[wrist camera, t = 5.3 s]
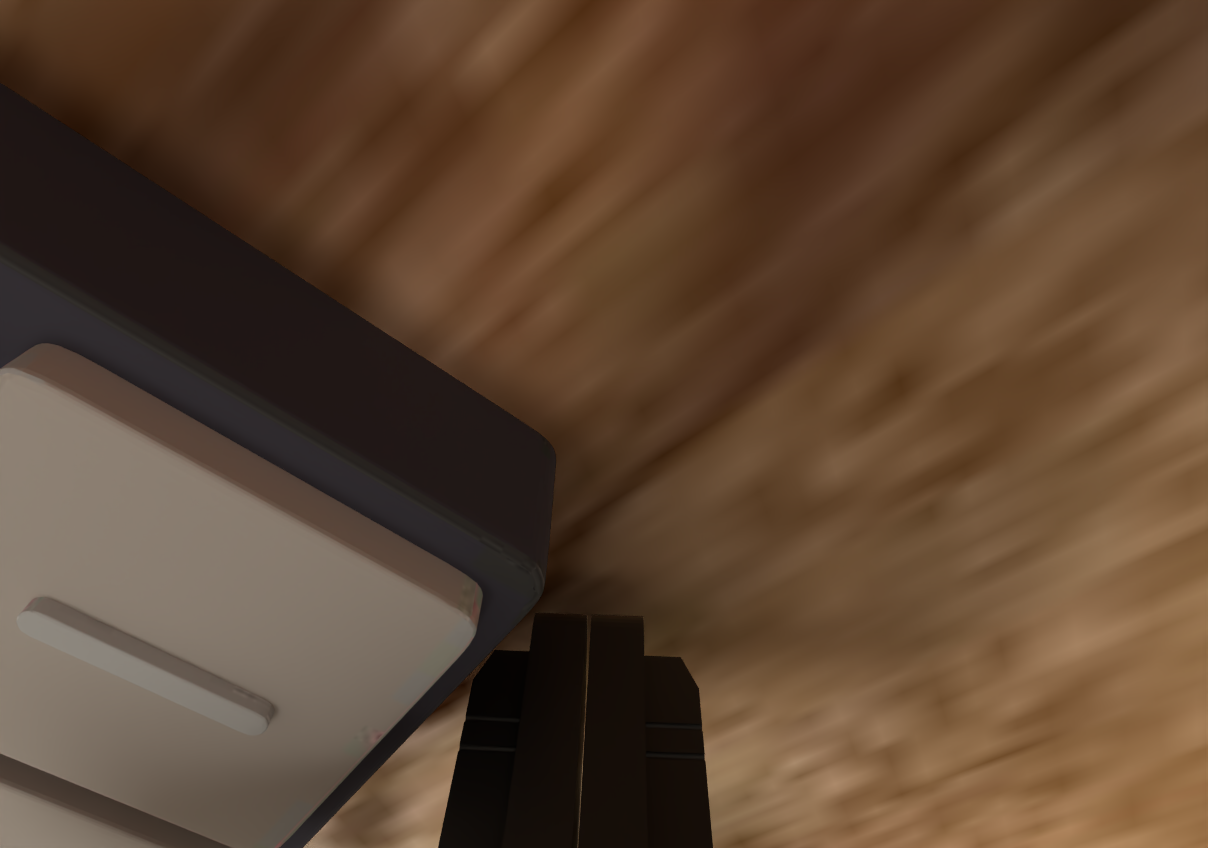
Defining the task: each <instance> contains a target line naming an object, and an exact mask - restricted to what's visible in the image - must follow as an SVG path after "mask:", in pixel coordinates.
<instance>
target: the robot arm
mask: <svg viewBox="0 0 1208 848" xmlns="http://www.w3.org/2000/svg"><path fill="white" fill-rule="evenodd" d="M586 659H587V615H586V614H560V613H535V617H534V622H533V629H532V637H531V644H530V651H529V652H528V651H503V650H495V651H494V652H493V653H492V655H491V656H490V657H489V659H488V660H487V661H486V663H485V664H484V666H483V667H482V668H481V670H480V671H479V672H478V674H477V675H476V677H475V678H474V679H473V683H472V688H471V693H470V697H469V702H468V707H467V712H466V720H465V722H464V726H463V731H462V736H461V741H460V749H459V751H458V755H457V760H456V764H455V769H454V774H453V779H452V784H451V788H450V793H449V798H448V803H447V808H446V812H445V817H444V822H443V827H442V832H441V836H440V841H439V846H438V848H577V846H578V848H713V843H712V831H711V820H710V809H709V798H708V787H707V775H706V764H705V760H704V754H705V753H704V742H703V731H702V719H701V708H700V697H699V688H698V686H697V685H696V683H695V681H694V679H693V678H692V676H691V674H690V673H689V671H688V669H687V667H686V666H685V664H684V662H683V660H682V659H681V657H661V656H644V622H643V616H618V615H592V616H591V632H590V650H589V668H588V685H587V703H586V721H585V700H586ZM584 724H585V738H584ZM583 742H584V756H583ZM582 760H583V774H582ZM581 777H582V791H581ZM580 794H581V809H580ZM579 812H580V827H579ZM578 829H579V844H578Z"/></svg>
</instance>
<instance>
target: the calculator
mask: <svg viewBox="0 0 1208 848" xmlns="http://www.w3.org/2000/svg"><path fill="white" fill-rule="evenodd" d="M555 468H556V455H555V451H554V449H553V447H552V445H551V444H550V443H549V442H548V441H547V439H545V438H544V437H543V436H542V435H541V434H539V433H538V432H537V431H535V430H534V429H532V428H531V427H529V426H528V425H526V424H525V423H523V422H522V421H520V420H519V419H517V418H516V417H514V416H513V415H511V414H509V413H508V412H506V411H505V410H503V409H502V408H500V407H499V406H497V405H496V404H494V403H492V402H491V401H489V400H488V399H486V398H485V397H483V396H482V395H480V394H479V393H477V392H476V391H474V390H472V389H471V388H469V387H468V386H466V385H465V384H463V383H462V382H460V381H459V380H457V379H456V378H454V377H452V376H451V375H449V374H448V373H446V372H445V371H443V370H442V369H440V368H439V367H437V366H436V365H434V364H432V363H431V362H429V361H428V360H426V359H425V358H423V357H422V356H420V355H419V354H417V353H416V352H414V351H412V350H411V349H409V348H408V347H406V346H405V345H403V344H402V343H400V342H399V341H397V340H396V339H394V338H392V337H391V336H389V335H388V334H386V333H385V332H383V331H382V330H380V329H379V328H377V327H375V326H374V325H372V324H371V323H369V322H368V321H366V320H365V319H363V318H362V317H360V316H359V315H357V314H355V313H354V312H352V311H351V310H349V309H348V308H346V307H345V306H343V305H342V304H340V303H339V302H337V301H335V300H334V299H332V298H331V297H329V296H328V295H326V294H325V293H323V292H322V291H320V290H319V289H317V288H315V287H314V286H312V285H311V284H309V283H308V282H306V281H305V280H303V279H302V278H300V277H299V276H297V275H295V274H294V273H292V272H291V271H289V270H288V269H286V268H285V267H283V266H282V265H280V264H279V263H277V262H275V261H274V260H272V259H271V258H269V257H268V256H266V255H265V254H263V253H262V252H260V251H258V250H257V249H255V248H254V247H252V246H251V245H249V244H248V243H246V242H245V241H243V240H242V239H240V238H238V237H237V236H235V235H234V234H232V233H231V232H229V231H228V230H226V229H225V228H223V227H222V226H220V225H218V224H217V223H215V222H214V221H212V220H211V219H209V218H208V217H206V216H205V215H203V214H202V213H200V212H198V211H197V210H195V209H194V208H192V207H191V206H189V205H188V204H186V203H185V202H183V201H182V200H180V199H178V198H177V197H175V196H174V195H172V194H171V193H169V192H168V191H166V190H165V189H163V188H162V187H160V186H158V185H157V184H155V183H154V182H152V181H151V180H149V179H148V178H146V177H145V176H143V175H141V174H140V173H138V172H137V171H135V170H134V169H132V168H131V167H129V166H128V165H126V164H125V163H123V162H121V161H120V160H118V159H117V158H115V157H114V156H112V155H111V154H109V153H108V152H106V151H105V150H103V149H101V148H100V147H98V146H97V145H95V144H94V143H92V142H91V141H89V140H88V139H86V138H85V137H83V136H81V135H80V134H78V133H77V132H75V131H74V130H72V129H71V128H69V127H68V126H66V125H65V124H63V123H61V122H60V121H58V120H57V119H55V118H54V117H52V116H51V115H49V114H48V113H46V112H44V111H43V110H41V109H40V108H38V107H37V106H35V105H34V104H32V103H31V102H29V101H28V100H26V99H24V98H23V97H21V96H20V95H18V94H17V93H15V92H14V91H12V90H11V89H9V88H8V87H6V86H4V85H3V84H1V83H0V848H303V847H304V846H305V845H306V844H307V843H308V842H309V841H310V840H311V839H312V838H313V837H314V835H315V834H316V833H317V832H318V831H319V830H320V829H321V828H322V827H323V826H324V825H325V824H326V823H327V822H328V821H329V820H330V819H331V818H332V817H333V816H334V815H335V814H336V813H337V812H338V810H339V809H340V808H341V807H342V806H343V805H344V804H345V803H346V802H347V801H348V800H349V799H350V798H351V797H352V796H353V795H354V794H355V793H356V792H357V791H358V790H359V789H360V788H361V786H362V785H363V784H364V783H365V782H366V781H367V780H368V779H369V778H370V777H371V776H372V775H373V774H374V773H375V772H376V771H377V770H378V769H379V768H380V767H381V766H382V765H383V764H384V763H385V761H386V760H387V759H388V758H389V757H390V756H391V755H392V754H393V753H394V752H395V751H396V750H397V749H398V748H399V747H400V746H401V745H402V744H403V743H404V742H405V741H406V740H407V739H408V738H409V736H410V735H411V734H412V733H413V732H414V731H415V730H416V729H417V728H418V727H419V726H420V725H421V724H422V723H423V722H424V721H425V720H426V719H427V718H428V717H429V716H430V715H431V714H432V713H433V711H434V710H435V709H436V708H437V707H438V706H439V705H440V704H441V703H442V702H443V701H444V700H445V699H446V698H447V697H448V696H449V695H450V694H451V693H452V692H453V691H454V690H455V689H456V688H457V686H458V685H459V684H460V683H461V682H462V681H463V680H464V679H465V678H466V677H467V676H468V675H469V674H470V673H471V672H472V671H473V670H474V669H475V668H476V667H477V666H478V665H479V664H480V662H481V661H482V660H483V659H484V658H485V657H486V656H487V655H488V654H489V653H490V652H491V651H492V650H493V649H494V648H495V647H496V646H497V645H498V644H499V643H500V642H501V641H502V640H503V639H504V637H505V636H506V635H507V634H508V633H509V632H510V631H511V630H512V629H513V628H514V627H515V626H516V625H517V624H518V623H519V622H520V621H521V620H522V619H523V618H524V617H525V615H526V614H527V613H528V612H529V611H530V610H531V609H532V608H533V607H534V605H535V604H536V603H537V602H538V600H539V599H540V597H541V595H542V593H543V590H544V585H545V580H546V570H547V560H548V550H549V540H550V529H551V517H552V505H553V493H554V481H555Z"/></svg>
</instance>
